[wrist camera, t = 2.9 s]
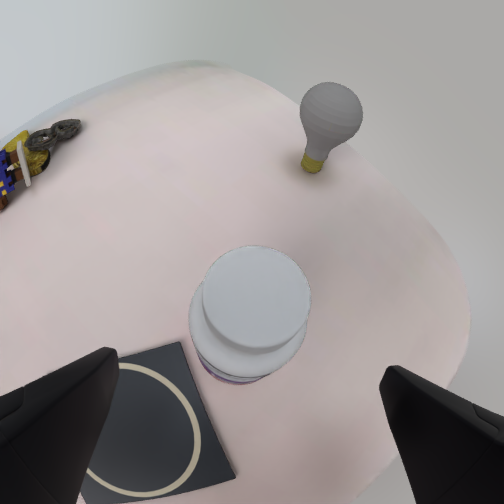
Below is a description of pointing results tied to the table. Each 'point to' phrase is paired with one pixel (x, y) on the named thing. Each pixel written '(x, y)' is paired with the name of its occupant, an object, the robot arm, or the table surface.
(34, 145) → the corroded twin loop
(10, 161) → the figurine
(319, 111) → the light bulb
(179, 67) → the table surface
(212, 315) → the pill bottle
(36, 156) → the decorative item
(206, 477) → the dark square coaster
